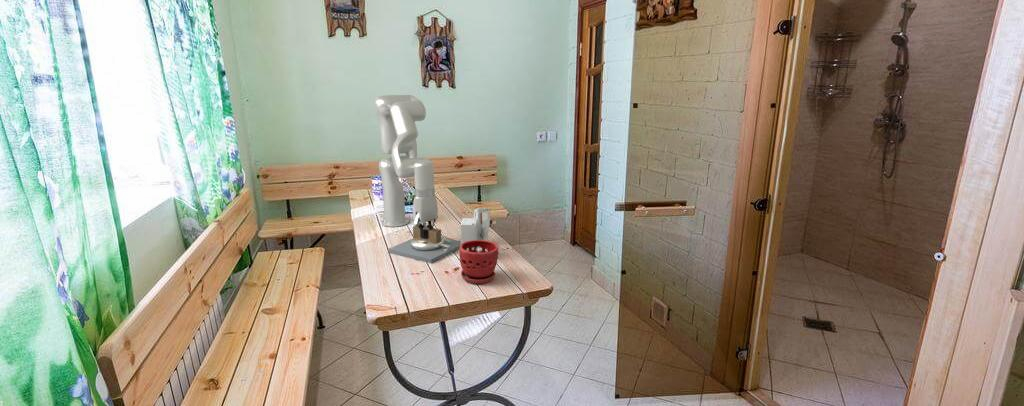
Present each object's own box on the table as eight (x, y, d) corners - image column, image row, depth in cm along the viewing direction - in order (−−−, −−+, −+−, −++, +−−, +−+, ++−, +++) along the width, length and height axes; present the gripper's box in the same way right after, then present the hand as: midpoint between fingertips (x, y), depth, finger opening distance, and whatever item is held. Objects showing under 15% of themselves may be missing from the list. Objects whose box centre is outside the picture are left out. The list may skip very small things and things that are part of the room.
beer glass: (487, 248, 190) (487, 212, 186) (471, 247, 191) (470, 211, 187) (491, 242, 196) (491, 208, 192) (475, 241, 198) (475, 207, 194)
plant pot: (467, 289, 153) (466, 254, 150) (455, 274, 165) (454, 242, 162) (504, 282, 158) (504, 249, 155) (490, 268, 170) (489, 237, 167)
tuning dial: (404, 246, 186) (403, 230, 185) (425, 237, 197) (425, 221, 195) (438, 255, 178) (437, 237, 176) (459, 244, 189) (458, 228, 187)
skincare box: (463, 253, 184) (462, 217, 180) (478, 253, 184) (477, 217, 180) (460, 261, 176) (459, 224, 172) (476, 261, 176) (476, 224, 172)
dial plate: (387, 252, 185) (387, 248, 185) (424, 236, 204) (424, 233, 203) (431, 263, 175) (431, 259, 174) (466, 245, 193) (466, 241, 192)
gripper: (431, 187, 192) (433, 230, 196) (403, 195, 178) (405, 241, 183) (445, 189, 188) (447, 233, 193) (418, 198, 174) (420, 244, 179)
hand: (427, 236), depth 188 cm, fingers closed on tuning dial, 3 cm apart
